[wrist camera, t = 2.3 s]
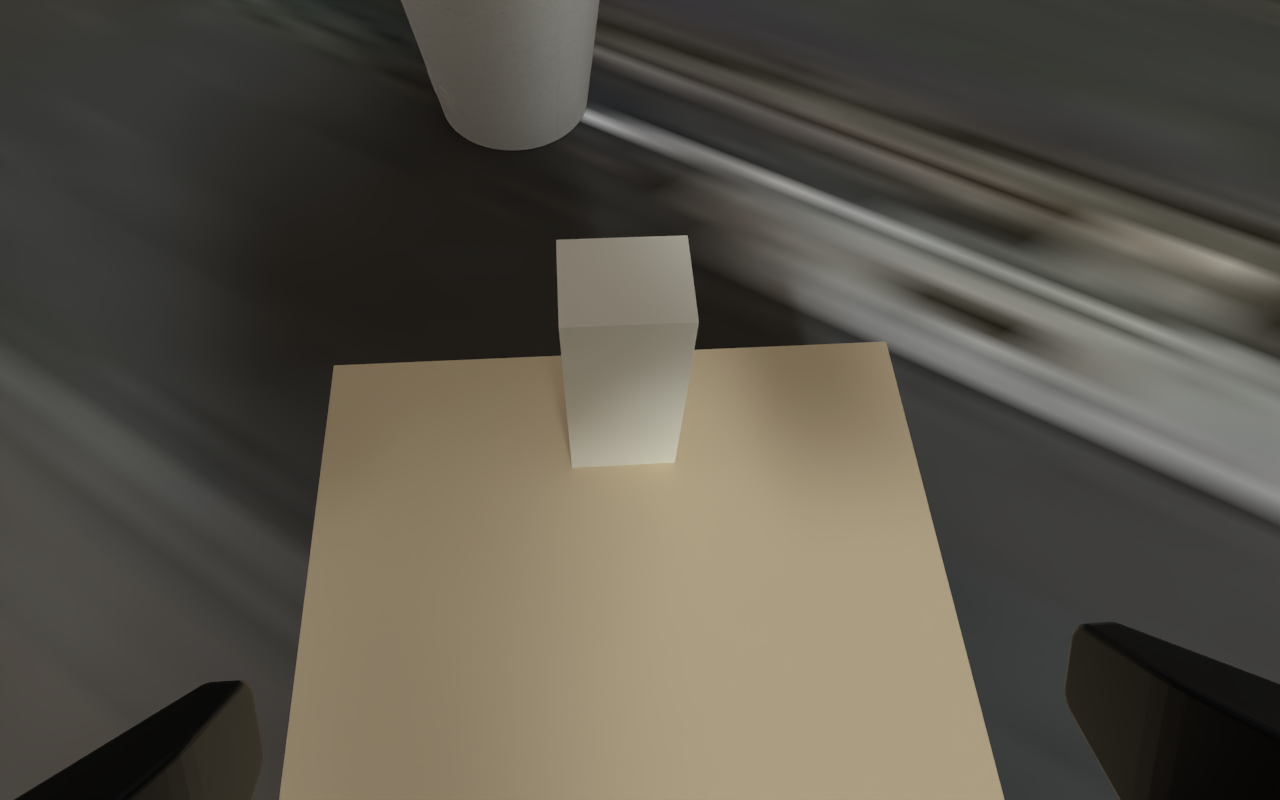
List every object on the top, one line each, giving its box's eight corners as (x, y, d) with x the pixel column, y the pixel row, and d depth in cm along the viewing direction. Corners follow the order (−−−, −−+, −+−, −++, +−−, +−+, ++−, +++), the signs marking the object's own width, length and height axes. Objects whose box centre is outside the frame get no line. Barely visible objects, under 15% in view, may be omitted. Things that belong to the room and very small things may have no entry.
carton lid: (1011, 878, 16) (1231, 891, 11) (272, 943, 15) (71, 996, 10) (879, 353, 22) (973, 179, 17) (340, 377, 21) (242, 202, 16)
